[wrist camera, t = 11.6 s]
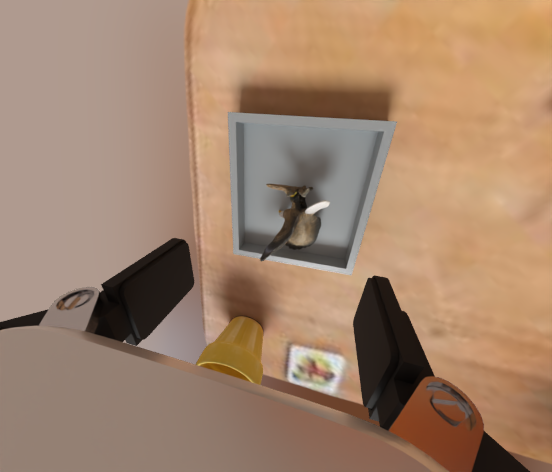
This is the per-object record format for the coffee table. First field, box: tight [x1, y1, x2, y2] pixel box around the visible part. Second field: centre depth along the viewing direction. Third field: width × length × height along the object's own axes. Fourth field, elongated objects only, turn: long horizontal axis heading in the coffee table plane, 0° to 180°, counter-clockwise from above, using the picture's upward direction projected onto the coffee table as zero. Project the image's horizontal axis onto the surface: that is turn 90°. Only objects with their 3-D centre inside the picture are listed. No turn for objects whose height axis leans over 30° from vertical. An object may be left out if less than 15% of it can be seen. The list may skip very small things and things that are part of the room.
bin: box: [228, 112, 397, 275], centre depth 24 cm, size 16×17×3 cm
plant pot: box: [196, 316, 263, 385], centre depth 34 cm, size 10×10×10 cm
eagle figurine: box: [260, 184, 330, 261], centre depth 23 cm, size 8×7×9 cm
